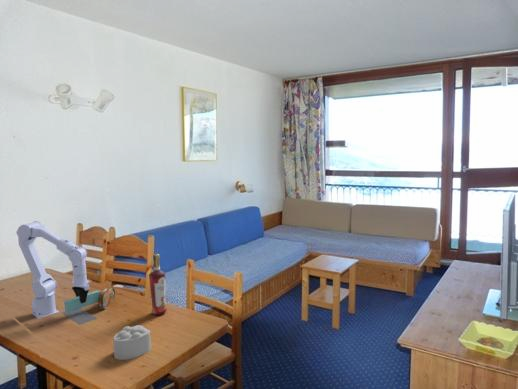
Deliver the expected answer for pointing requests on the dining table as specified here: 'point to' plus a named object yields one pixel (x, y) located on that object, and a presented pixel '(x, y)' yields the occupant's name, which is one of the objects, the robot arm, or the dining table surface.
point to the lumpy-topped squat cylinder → (131, 342)
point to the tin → (106, 297)
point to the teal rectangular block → (76, 304)
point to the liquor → (157, 288)
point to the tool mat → (79, 316)
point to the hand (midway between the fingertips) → (81, 301)
